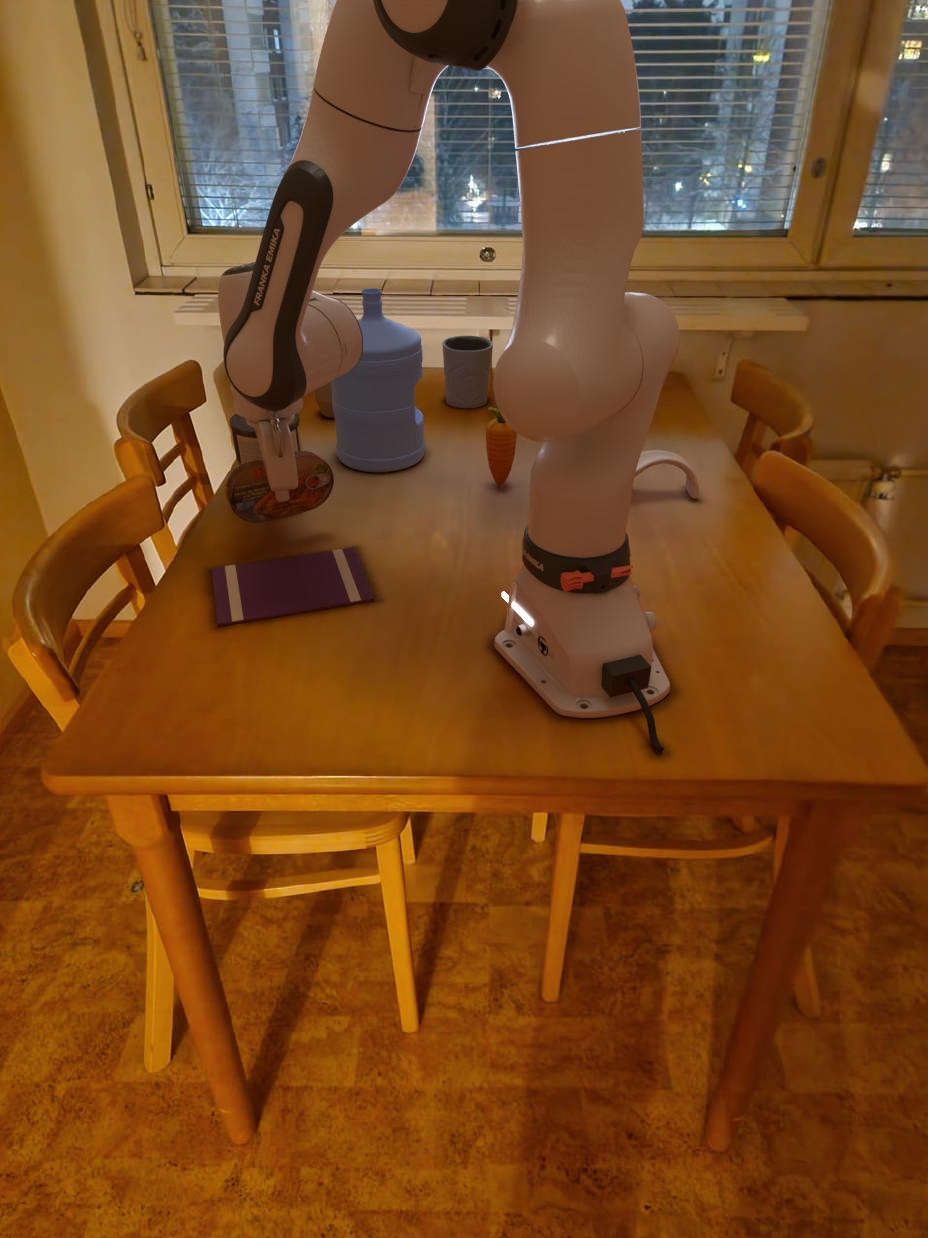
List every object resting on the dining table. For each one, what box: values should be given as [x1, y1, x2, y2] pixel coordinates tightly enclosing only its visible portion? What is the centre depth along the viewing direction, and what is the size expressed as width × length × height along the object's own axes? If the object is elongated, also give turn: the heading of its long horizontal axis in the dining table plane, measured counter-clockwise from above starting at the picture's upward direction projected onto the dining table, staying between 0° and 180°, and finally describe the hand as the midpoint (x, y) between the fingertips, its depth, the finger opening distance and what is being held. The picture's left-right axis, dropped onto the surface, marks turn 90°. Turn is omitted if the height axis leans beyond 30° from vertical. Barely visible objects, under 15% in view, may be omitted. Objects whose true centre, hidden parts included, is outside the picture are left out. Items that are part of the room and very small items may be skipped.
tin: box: [225, 450, 335, 524], centre depth 112 cm, size 15×3×8 cm, turn 120°
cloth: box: [211, 546, 376, 628], centre depth 109 cm, size 14×20×1 cm
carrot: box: [485, 406, 518, 488], centre depth 130 cm, size 5×5×15 cm
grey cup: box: [441, 335, 494, 409], centre depth 164 cm, size 10×10×12 cm
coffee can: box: [228, 412, 304, 467], centre depth 125 cm, size 10×10×14 cm
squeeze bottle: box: [314, 382, 335, 419], centre depth 156 cm, size 8×8×18 cm
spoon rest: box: [634, 449, 700, 499], centre depth 129 cm, size 24×12×7 cm, turn 93°
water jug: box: [331, 288, 426, 473], centre depth 136 cm, size 16×16×28 cm
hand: (280, 492), depth 113 cm, fingers closed on tin, 3 cm apart
